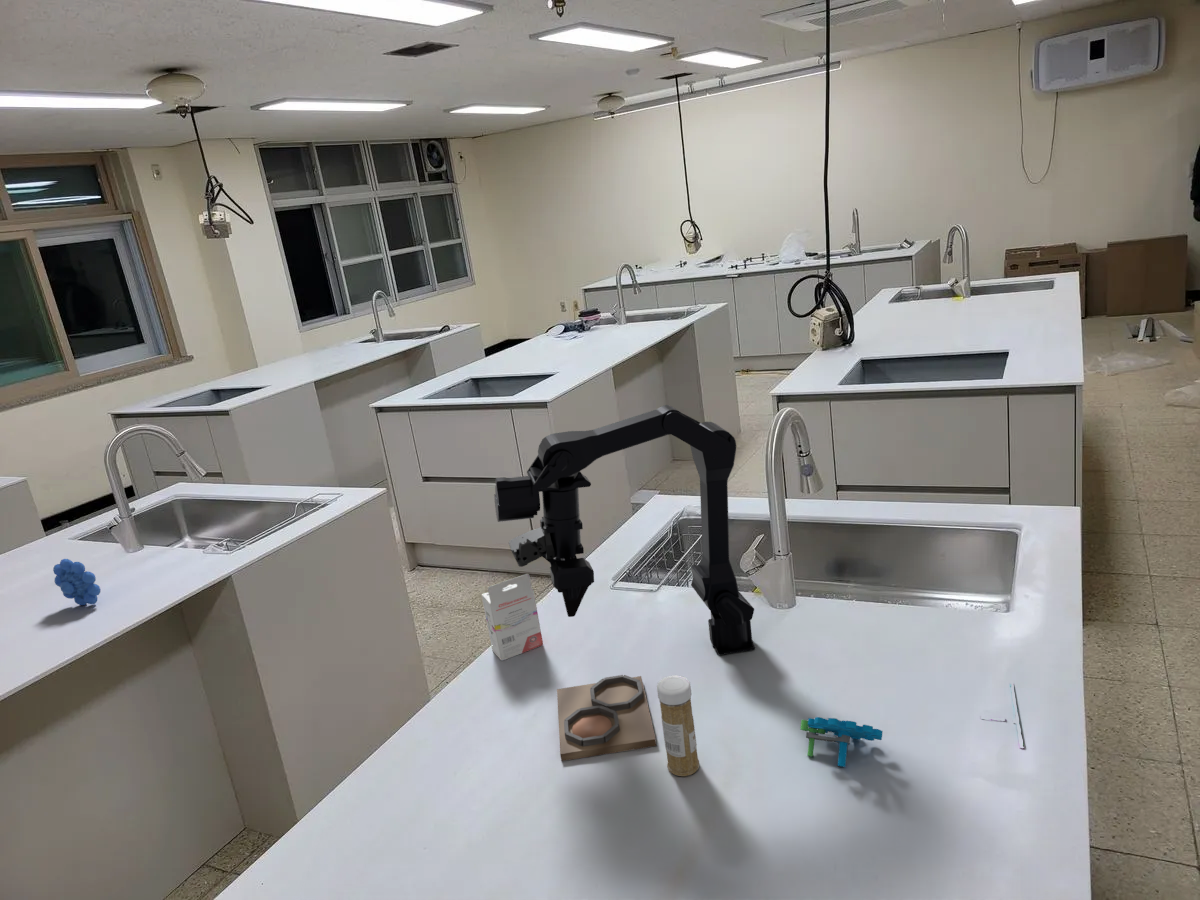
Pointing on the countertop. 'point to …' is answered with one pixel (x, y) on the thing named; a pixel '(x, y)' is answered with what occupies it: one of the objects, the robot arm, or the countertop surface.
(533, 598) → the ink cartridge box
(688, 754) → the sprinkles bottle
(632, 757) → the countertop surface
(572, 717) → the board
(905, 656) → the countertop surface
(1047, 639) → the countertop surface
